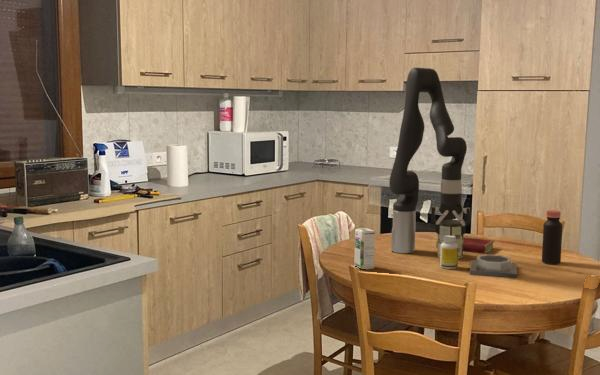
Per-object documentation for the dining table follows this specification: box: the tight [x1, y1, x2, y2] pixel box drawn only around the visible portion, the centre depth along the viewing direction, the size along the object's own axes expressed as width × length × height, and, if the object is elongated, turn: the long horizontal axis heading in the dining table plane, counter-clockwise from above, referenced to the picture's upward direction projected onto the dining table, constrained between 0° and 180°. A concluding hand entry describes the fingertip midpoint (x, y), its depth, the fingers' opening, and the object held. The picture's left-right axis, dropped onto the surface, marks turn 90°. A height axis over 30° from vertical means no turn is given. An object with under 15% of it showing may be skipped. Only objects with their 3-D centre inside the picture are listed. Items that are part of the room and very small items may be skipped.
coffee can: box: [436, 219, 464, 260], centre depth 256 cm, size 10×10×14 cm
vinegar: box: [541, 209, 563, 265], centre depth 245 cm, size 7×7×20 cm
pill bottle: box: [439, 236, 459, 270], centre depth 239 cm, size 6×6×12 cm
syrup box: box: [353, 227, 376, 270], centre depth 238 cm, size 6×6×14 cm
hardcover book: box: [436, 236, 495, 255], centre depth 270 cm, size 12×21×4 cm, turn 58°
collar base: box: [469, 253, 518, 279], centre depth 234 cm, size 16×16×4 cm
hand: (450, 234), depth 238 cm, fingers open, 8 cm apart
